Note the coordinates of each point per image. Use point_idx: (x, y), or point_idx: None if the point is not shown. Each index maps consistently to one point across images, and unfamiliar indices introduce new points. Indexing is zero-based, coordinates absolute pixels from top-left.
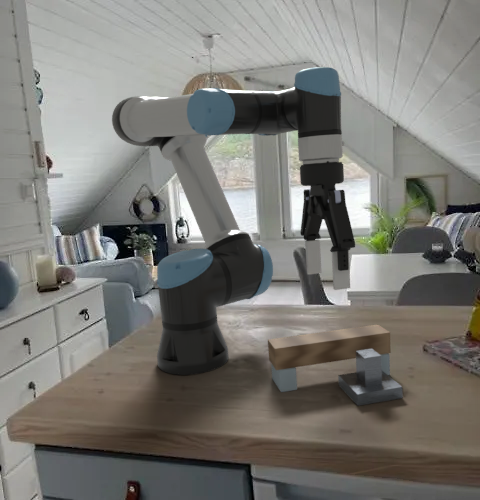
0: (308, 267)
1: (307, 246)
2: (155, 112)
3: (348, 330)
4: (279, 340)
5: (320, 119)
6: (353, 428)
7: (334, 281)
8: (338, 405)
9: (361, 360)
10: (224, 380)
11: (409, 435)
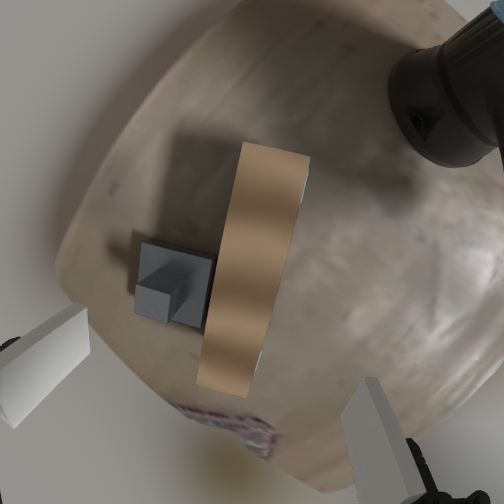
0: (370, 398)
1: (397, 476)
2: None
3: (249, 342)
4: (287, 177)
5: None
6: (113, 201)
7: (59, 315)
8: (166, 218)
9: (152, 284)
10: (346, 105)
11: (83, 247)
